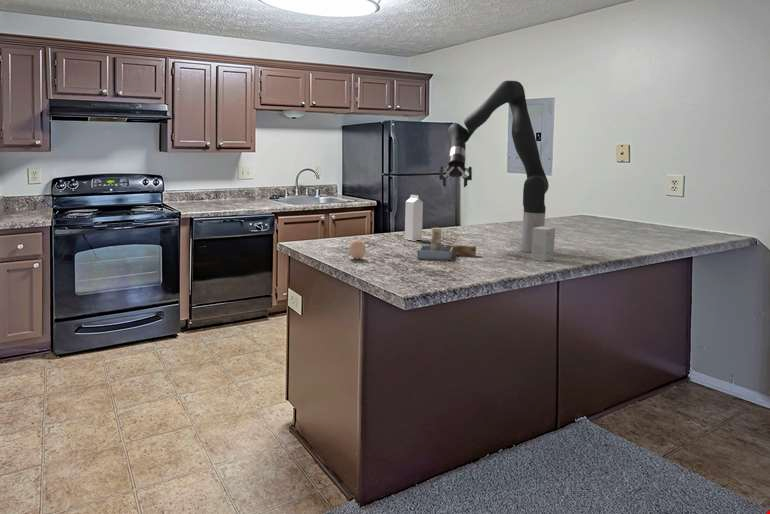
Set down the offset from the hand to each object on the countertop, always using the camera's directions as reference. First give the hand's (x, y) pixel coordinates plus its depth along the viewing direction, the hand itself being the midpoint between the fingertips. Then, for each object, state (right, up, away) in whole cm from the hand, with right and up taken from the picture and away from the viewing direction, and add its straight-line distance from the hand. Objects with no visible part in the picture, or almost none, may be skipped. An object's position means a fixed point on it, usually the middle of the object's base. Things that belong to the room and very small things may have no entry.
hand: (454, 185), depth 247 cm
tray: (-9, -31, -13) cm, 35 cm away
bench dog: (+2, -30, -9) cm, 32 cm away
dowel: (-9, -30, -14) cm, 35 cm away
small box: (+34, -32, -14) cm, 49 cm away
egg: (-41, -32, -21) cm, 56 cm away
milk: (-17, -23, +28) cm, 40 cm away
